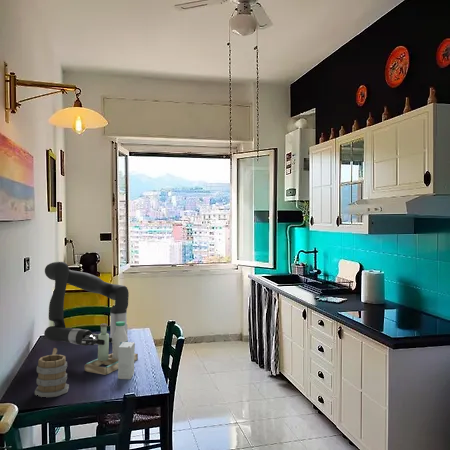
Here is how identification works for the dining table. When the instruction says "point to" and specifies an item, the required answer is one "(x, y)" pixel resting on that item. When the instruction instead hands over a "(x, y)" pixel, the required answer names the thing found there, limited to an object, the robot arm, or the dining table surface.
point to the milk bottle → (118, 338)
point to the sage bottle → (104, 349)
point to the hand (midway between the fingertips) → (107, 341)
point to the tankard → (52, 375)
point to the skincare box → (126, 360)
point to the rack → (95, 364)
